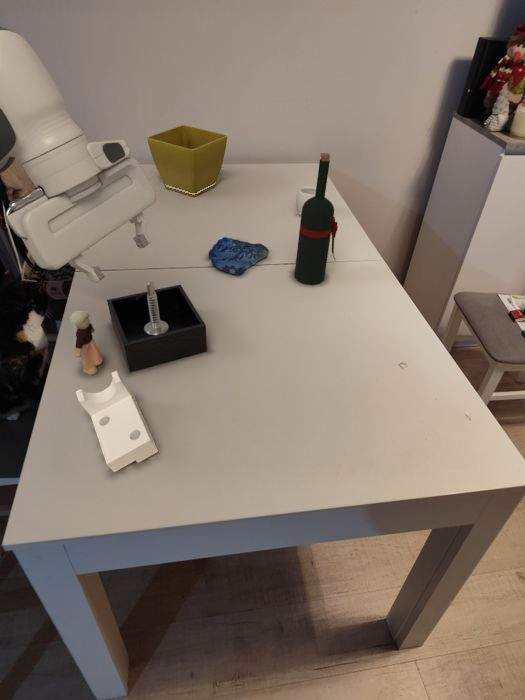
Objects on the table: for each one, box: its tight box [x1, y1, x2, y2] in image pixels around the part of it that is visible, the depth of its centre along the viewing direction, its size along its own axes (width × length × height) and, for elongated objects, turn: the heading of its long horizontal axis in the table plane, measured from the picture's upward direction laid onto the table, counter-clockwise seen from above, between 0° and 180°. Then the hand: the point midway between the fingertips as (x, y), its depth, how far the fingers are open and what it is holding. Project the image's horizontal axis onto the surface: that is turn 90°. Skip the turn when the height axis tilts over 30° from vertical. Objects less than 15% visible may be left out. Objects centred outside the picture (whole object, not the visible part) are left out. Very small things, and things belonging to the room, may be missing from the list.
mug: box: [295, 185, 316, 217], centre depth 141 cm, size 12×8×8 cm
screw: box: [144, 281, 168, 336], centre depth 88 cm, size 13×5×5 cm
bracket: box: [75, 370, 159, 473], centre depth 71 cm, size 13×7×8 cm, turn 29°
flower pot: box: [146, 124, 228, 198], centre depth 149 cm, size 19×19×17 cm
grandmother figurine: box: [69, 309, 104, 376], centre depth 81 cm, size 8×4×13 cm, turn 8°
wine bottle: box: [293, 152, 339, 286], centre depth 104 cm, size 8×10×30 cm
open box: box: [106, 284, 208, 373], centre depth 90 cm, size 16×16×7 cm
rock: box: [208, 236, 270, 276], centre depth 119 cm, size 15×17×2 cm
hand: (122, 262), depth 66 cm, fingers open, 8 cm apart
